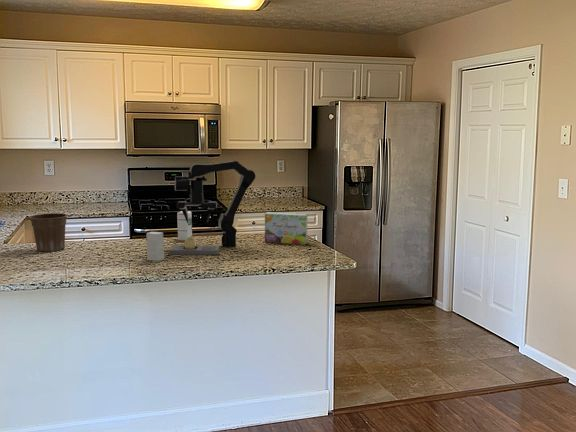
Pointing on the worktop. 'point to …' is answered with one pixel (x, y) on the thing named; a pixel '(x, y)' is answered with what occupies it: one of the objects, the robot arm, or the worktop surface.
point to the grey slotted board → (195, 250)
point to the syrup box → (184, 226)
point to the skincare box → (155, 246)
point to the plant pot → (49, 231)
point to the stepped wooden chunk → (190, 243)
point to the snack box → (286, 228)
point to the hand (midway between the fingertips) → (197, 222)
